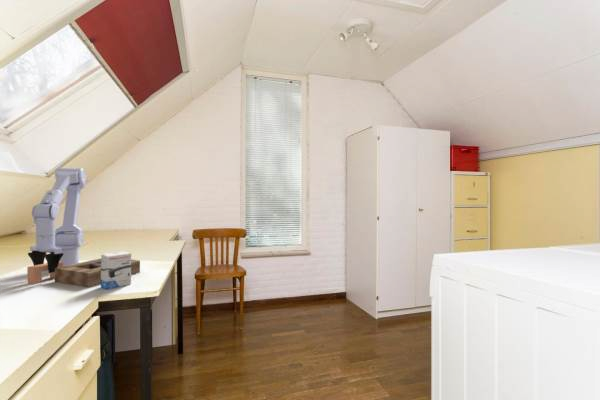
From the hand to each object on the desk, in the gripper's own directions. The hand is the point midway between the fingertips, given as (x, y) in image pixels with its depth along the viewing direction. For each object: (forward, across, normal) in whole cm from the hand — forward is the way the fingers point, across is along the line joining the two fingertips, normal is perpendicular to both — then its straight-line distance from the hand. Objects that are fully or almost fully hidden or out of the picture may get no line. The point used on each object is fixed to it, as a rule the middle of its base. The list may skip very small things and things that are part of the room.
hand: (45, 271), depth 117 cm
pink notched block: (+3, 0, 0) cm, 3 cm away
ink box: (+4, +30, +5) cm, 31 cm away
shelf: (+3, +14, +11) cm, 18 cm away
